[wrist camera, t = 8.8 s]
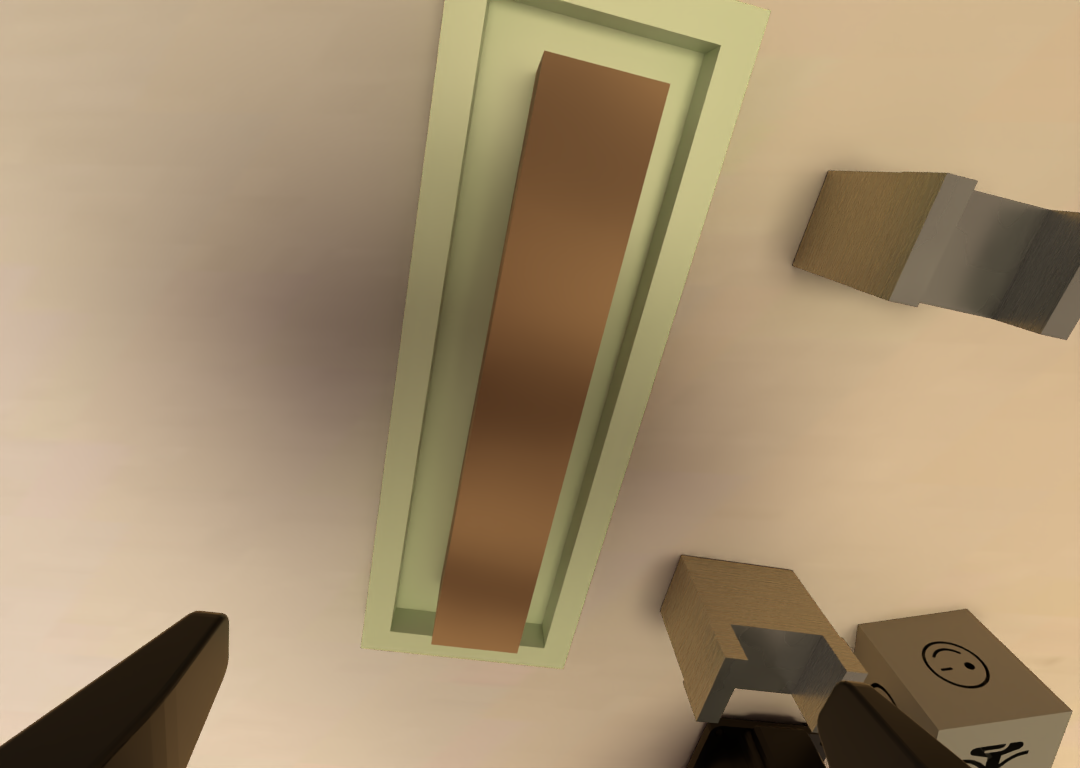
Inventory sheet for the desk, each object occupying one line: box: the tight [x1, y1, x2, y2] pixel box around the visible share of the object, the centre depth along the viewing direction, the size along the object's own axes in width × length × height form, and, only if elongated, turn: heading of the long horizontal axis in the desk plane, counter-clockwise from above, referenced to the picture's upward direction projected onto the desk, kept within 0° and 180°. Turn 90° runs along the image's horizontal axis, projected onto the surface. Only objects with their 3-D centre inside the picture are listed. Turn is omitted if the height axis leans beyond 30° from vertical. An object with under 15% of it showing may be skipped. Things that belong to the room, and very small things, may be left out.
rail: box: [431, 50, 670, 654], centre depth 17 cm, size 18×3×3 cm, turn 168°
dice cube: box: [854, 609, 1072, 768], centre depth 23 cm, size 5×5×5 cm
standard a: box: [660, 555, 868, 733], centre depth 21 cm, size 3×5×5 cm, turn 78°
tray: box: [361, 0, 771, 669], centre depth 18 cm, size 23×8×2 cm, turn 168°
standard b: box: [792, 171, 1080, 340], centre depth 16 cm, size 3×5×5 cm, turn 78°
